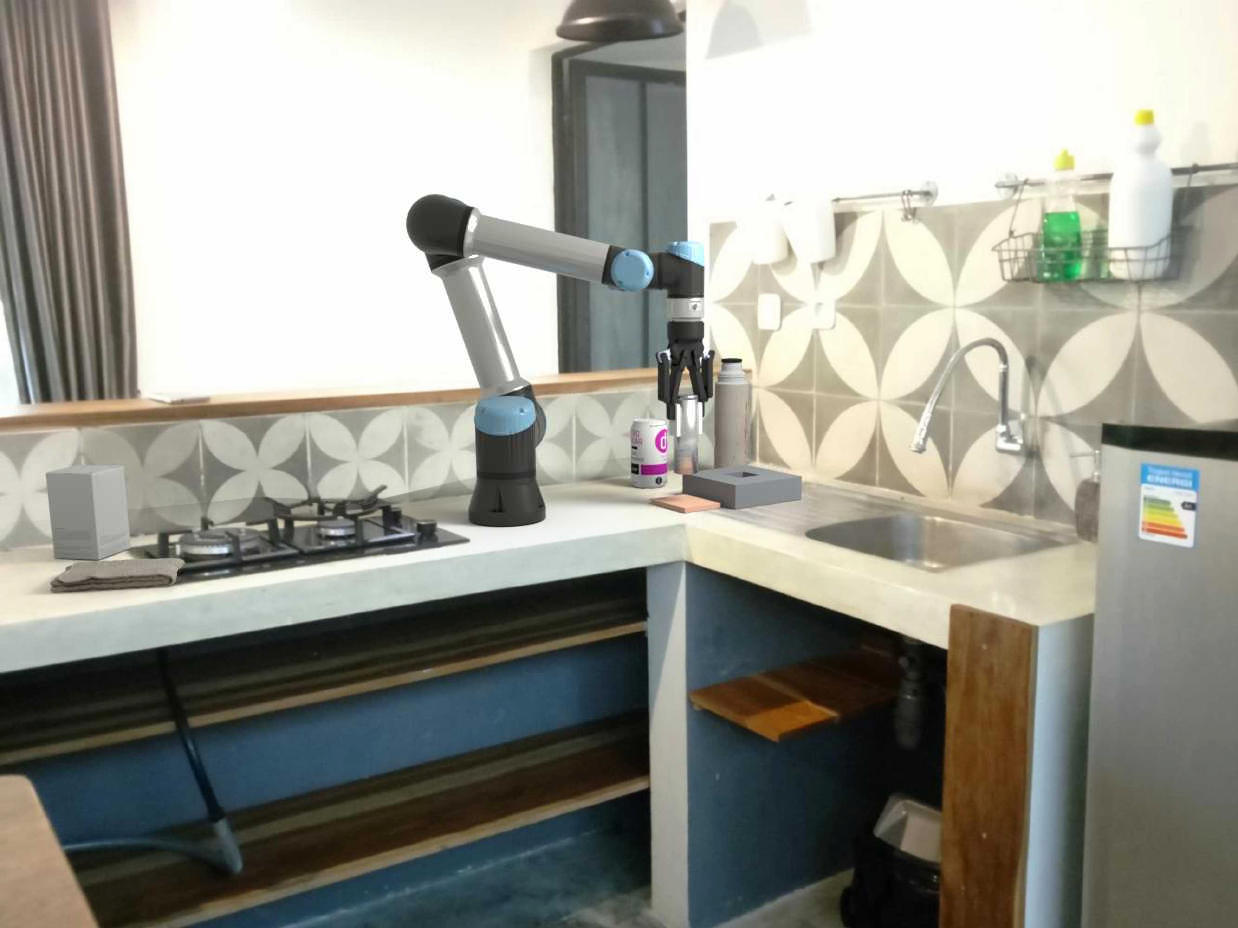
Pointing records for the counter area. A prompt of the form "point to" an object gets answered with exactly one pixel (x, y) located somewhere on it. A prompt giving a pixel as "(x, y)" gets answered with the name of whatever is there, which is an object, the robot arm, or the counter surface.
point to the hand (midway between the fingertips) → (685, 434)
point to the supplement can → (649, 453)
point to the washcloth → (117, 575)
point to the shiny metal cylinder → (687, 436)
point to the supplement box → (88, 511)
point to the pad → (685, 503)
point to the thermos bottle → (731, 415)
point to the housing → (743, 486)
